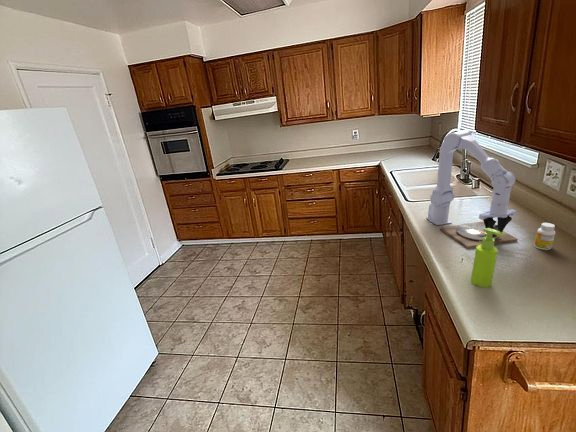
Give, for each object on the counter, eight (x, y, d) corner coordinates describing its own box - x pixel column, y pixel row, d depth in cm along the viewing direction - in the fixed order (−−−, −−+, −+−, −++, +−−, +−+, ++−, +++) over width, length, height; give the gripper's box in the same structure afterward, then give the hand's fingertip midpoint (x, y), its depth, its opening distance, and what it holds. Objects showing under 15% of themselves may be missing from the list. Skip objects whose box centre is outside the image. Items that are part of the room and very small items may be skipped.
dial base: (440, 229, 140) (440, 226, 140) (484, 223, 142) (484, 220, 142) (467, 248, 123) (467, 245, 122) (517, 241, 125) (517, 238, 124)
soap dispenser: (486, 290, 98) (496, 236, 91) (467, 280, 104) (475, 228, 97) (498, 285, 100) (509, 231, 93) (478, 275, 106) (487, 224, 99)
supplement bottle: (534, 242, 123) (539, 220, 119) (551, 245, 119) (557, 223, 116) (533, 248, 119) (538, 226, 115) (551, 251, 116) (557, 228, 112)
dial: (448, 231, 135) (449, 220, 133) (470, 221, 142) (471, 211, 140) (484, 244, 122) (486, 232, 120) (506, 233, 129) (509, 221, 127)
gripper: (490, 208, 117) (484, 239, 122) (524, 203, 118) (517, 234, 123) (477, 202, 123) (472, 232, 129) (510, 197, 124) (504, 227, 130)
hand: (493, 232), depth 126 cm, fingers open, 4 cm apart
